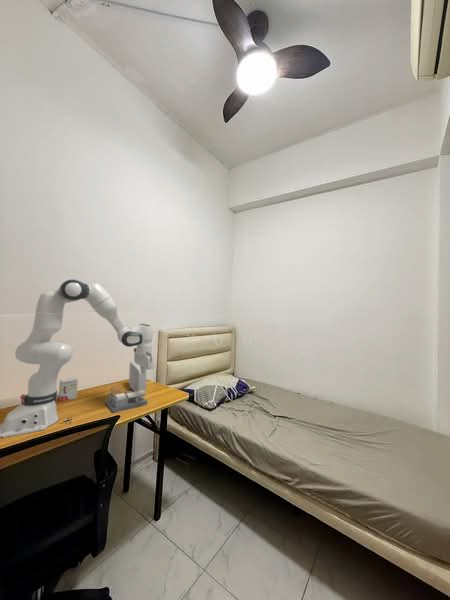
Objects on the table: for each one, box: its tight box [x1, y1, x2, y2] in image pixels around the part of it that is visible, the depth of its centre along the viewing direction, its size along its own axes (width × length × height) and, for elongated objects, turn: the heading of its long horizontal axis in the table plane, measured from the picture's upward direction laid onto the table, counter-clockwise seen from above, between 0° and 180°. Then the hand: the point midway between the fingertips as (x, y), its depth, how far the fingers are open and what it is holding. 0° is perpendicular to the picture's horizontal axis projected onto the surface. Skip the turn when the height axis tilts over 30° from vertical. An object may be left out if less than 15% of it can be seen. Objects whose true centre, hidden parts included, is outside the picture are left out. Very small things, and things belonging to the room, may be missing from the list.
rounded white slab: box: [128, 361, 148, 394], centre depth 164 cm, size 27×7×17 cm, turn 34°
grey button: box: [115, 392, 126, 400], centre depth 133 cm, size 4×4×5 cm
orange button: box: [110, 385, 122, 396], centre depth 139 cm, size 4×4×5 cm
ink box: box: [57, 377, 78, 402], centre depth 144 cm, size 9×5×12 cm, turn 138°
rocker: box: [125, 390, 146, 398], centre depth 140 cm, size 10×4×2 cm, turn 132°
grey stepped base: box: [104, 392, 148, 414], centre depth 139 cm, size 19×15×6 cm
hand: (143, 373), depth 143 cm, fingers closed
